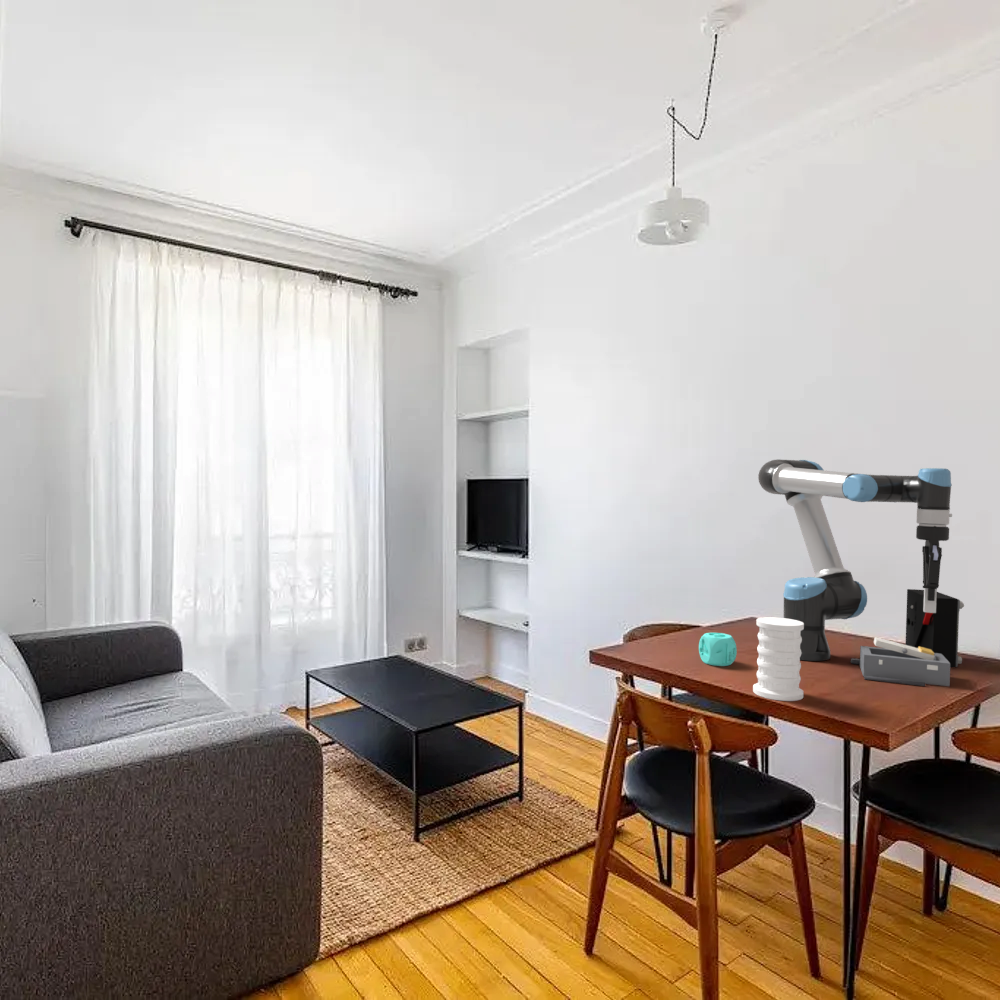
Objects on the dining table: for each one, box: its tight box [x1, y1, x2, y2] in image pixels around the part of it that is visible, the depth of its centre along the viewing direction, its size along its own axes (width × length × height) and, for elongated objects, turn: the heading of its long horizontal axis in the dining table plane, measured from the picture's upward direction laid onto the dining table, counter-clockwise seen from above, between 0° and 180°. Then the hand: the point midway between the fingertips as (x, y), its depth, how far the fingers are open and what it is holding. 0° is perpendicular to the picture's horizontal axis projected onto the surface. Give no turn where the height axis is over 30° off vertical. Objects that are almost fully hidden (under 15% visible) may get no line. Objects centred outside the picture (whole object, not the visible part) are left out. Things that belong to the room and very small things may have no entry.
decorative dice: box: [698, 632, 738, 667], centre depth 201 cm, size 8×8×8 cm
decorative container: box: [752, 616, 804, 702], centre depth 171 cm, size 12×12×18 cm
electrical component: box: [904, 588, 965, 668], centre depth 209 cm, size 18×10×20 cm, turn 168°
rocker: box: [873, 636, 935, 660], centre depth 190 cm, size 14×6×2 cm, turn 67°
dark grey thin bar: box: [863, 676, 926, 687], centre depth 183 cm, size 14×1×1 cm, turn 67°
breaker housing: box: [859, 645, 951, 687], centre depth 190 cm, size 20×12×6 cm, turn 67°
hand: (929, 612), depth 187 cm, fingers closed
